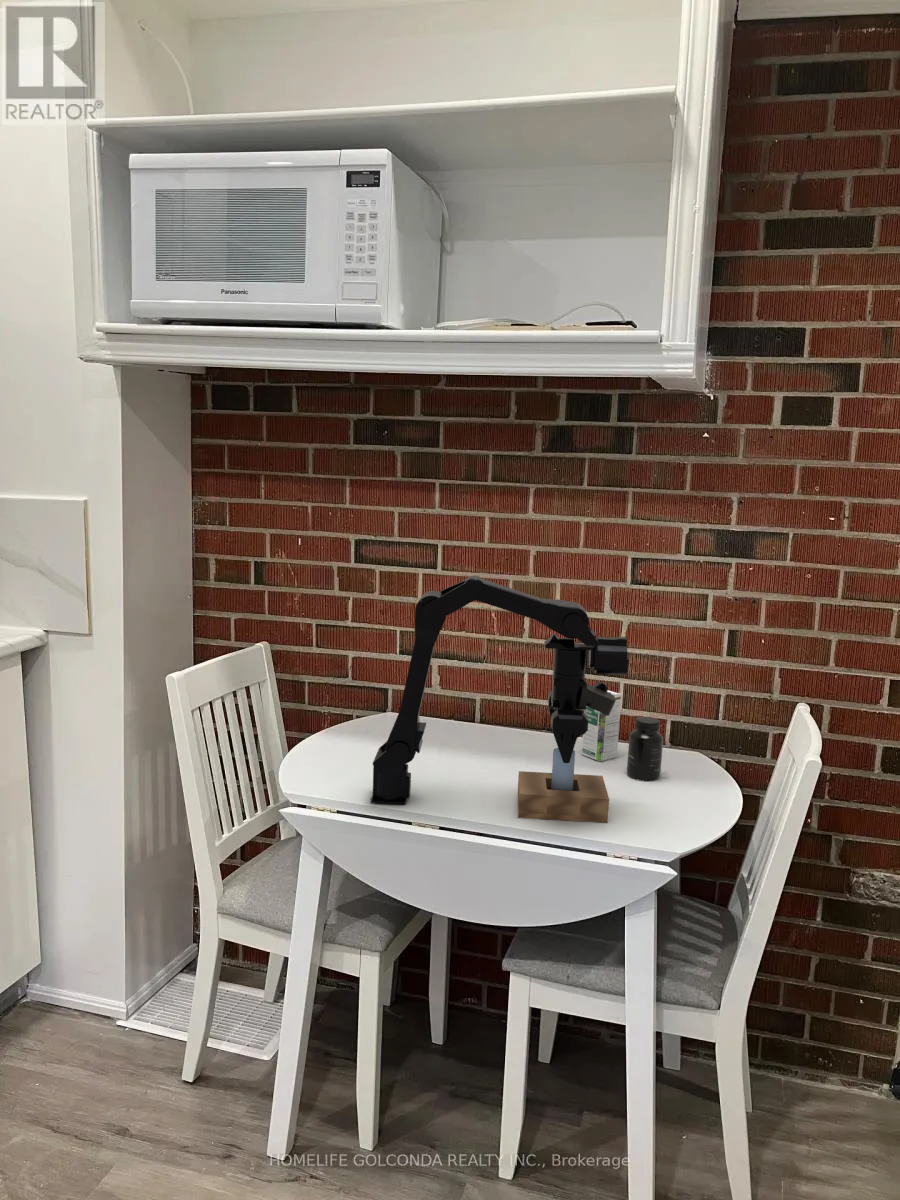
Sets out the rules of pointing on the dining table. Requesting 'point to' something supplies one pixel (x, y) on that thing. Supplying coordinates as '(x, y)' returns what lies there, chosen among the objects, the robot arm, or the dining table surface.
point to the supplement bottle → (645, 750)
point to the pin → (562, 772)
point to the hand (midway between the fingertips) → (564, 754)
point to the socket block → (562, 798)
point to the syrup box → (602, 732)
